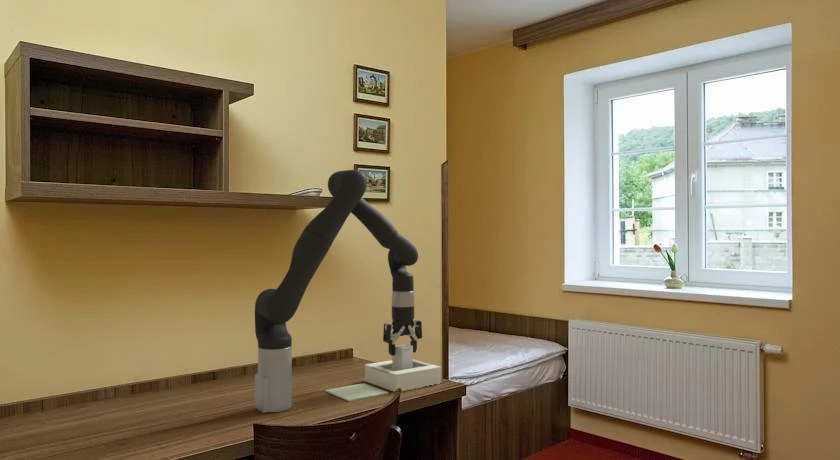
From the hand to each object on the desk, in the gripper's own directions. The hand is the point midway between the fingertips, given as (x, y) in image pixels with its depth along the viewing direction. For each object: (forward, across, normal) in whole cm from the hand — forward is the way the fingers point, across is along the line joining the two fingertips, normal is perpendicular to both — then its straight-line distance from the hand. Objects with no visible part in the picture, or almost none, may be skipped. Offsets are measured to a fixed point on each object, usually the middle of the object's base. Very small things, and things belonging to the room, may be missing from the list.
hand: (402, 353), depth 197 cm
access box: (+10, 0, 0) cm, 10 cm away
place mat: (+9, -19, -2) cm, 21 cm away
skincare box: (+10, 0, 0) cm, 10 cm away
